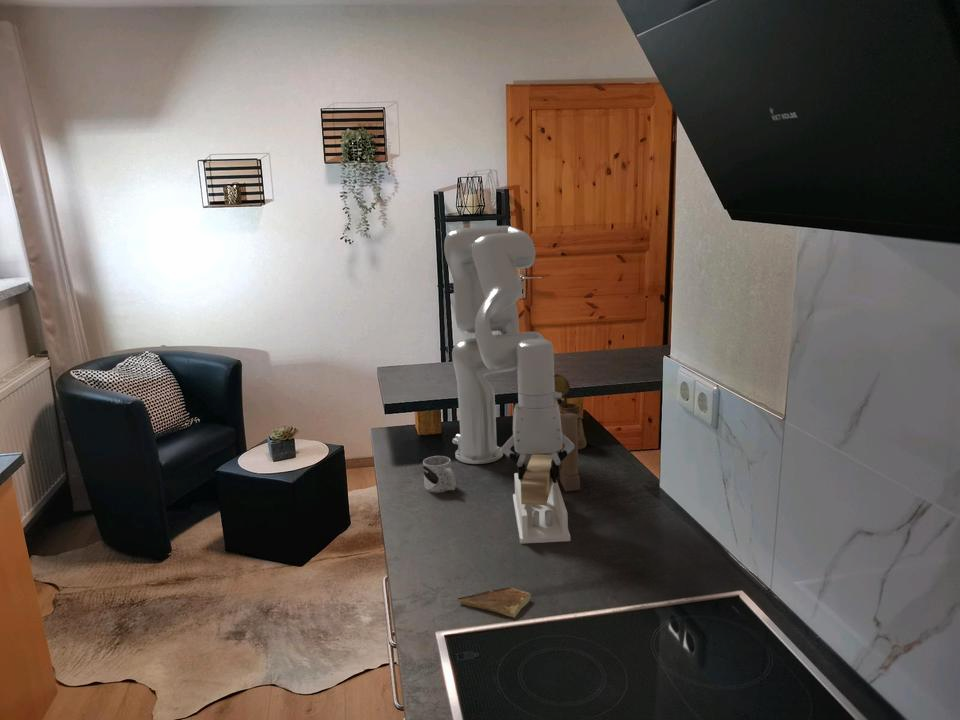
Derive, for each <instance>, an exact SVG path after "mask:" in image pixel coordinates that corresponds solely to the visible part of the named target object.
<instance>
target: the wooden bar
mask: <svg viewBox="0 0 960 720" xmlns="http://www.w3.org/2000/svg"><path fill="white" fill-rule="evenodd" d="M552 459H553V457H552V455H551V454H531V456H530V459H529V461H528V463H527V466H526V468H525V474H524V476H523V479H522V480H520V482H521V504H530V505H546V504H547V500H548V497H549V493H550V490H551V486H552V483H553V481H552V473H551V461H552Z"/></svg>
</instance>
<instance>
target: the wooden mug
mask: <svg viewBox="0 0 960 720" xmlns="http://www.w3.org/2000/svg"><path fill="white" fill-rule="evenodd" d="M554 388H555V391H556V392H558V393H562V399H558V400H556V403H558V407H559V411H560V419H561V416H562V414H564V413H574V414H576V415H577V436H578V451H579V450H582V449H585V448H586V447H587V440H586V439H587V438H586V437H585V432H584V427H583V421H582V414H583V413H582V409H581V407H580V404H578V403H575V402H574V403H568V399H567V396H568V395H569V393H570V391H571V390H570V389H571V386H570V383H569V381H568V380H567V378H565V376H563V375H561V374H558V373H554Z"/></svg>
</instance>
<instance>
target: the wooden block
mask: <svg viewBox="0 0 960 720" xmlns="http://www.w3.org/2000/svg"><path fill="white" fill-rule="evenodd" d="M561 427H562V433H563V434H564V435H565V436H566V437H567V438H568V439H569V440H570V441H571V442H572V443H573V444H574V446H575V448H574V449H573V450H572V451H571V452H570V453H568V454H567V456H566V457H565V458H564V459H563V460H562V461H561V463H560V464H559V477H557V479H558V480H559V482H560V484H561V486H562V488H563V490H564V492H573V491H580V490H581V477H580V475H579V457H578V456H579V452H578V451H579V450H578V436H577V415H576V414H574V413H564V414H562V416H561ZM562 443H563V442H562ZM565 446H566V445H565V444H564V443H563V444H562V449H564V447H565ZM562 449H561V450H562ZM561 450H560V451H561ZM560 451H558V452H557V453H559V452H560Z"/></svg>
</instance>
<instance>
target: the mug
mask: <svg viewBox="0 0 960 720" xmlns="http://www.w3.org/2000/svg"><path fill="white" fill-rule="evenodd" d="M422 468H423V483H424V486H423V487H424V490H425V491H426V492H428V493H433V494H438V493H439V494H440V493H444V492H445V493H446V492H448V491H455V490H456V486H457V485H456V483H457V482H456V474H455V472H454V471H453V470H452V459H451V457H448V456H445V455H434V456H428V457H427V458H424V459H423V460H422Z"/></svg>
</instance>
